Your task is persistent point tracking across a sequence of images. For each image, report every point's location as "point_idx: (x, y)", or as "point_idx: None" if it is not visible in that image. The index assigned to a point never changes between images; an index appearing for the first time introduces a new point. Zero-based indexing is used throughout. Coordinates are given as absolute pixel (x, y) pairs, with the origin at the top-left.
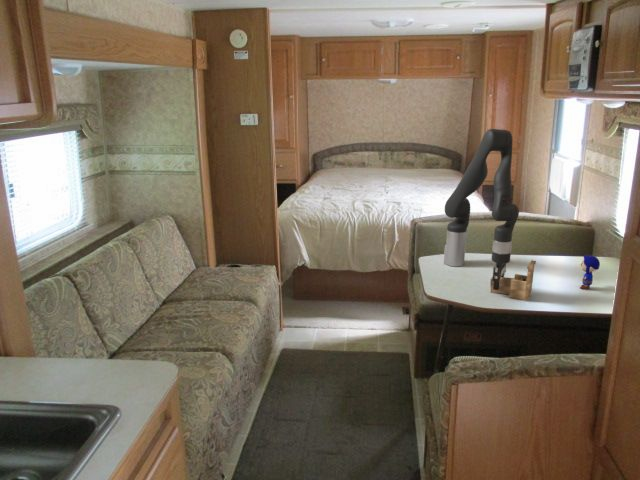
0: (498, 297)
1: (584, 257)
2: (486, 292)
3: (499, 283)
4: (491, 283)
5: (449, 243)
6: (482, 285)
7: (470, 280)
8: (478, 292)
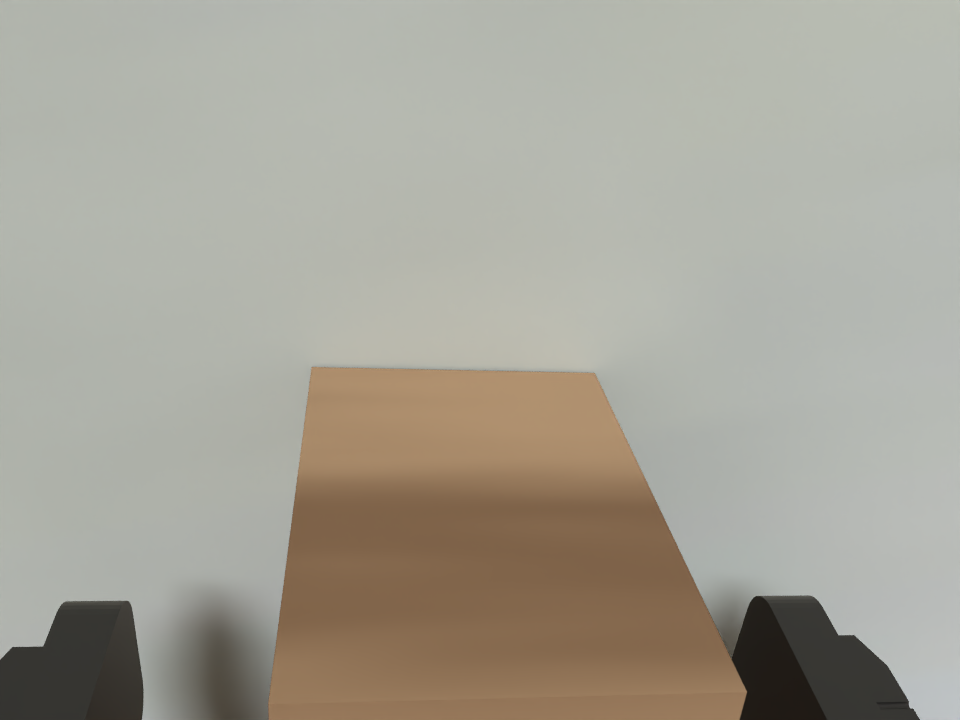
0: (47, 596)
1: None
2: (233, 267)
3: None
4: (290, 581)
5: None
6: (853, 14)
7: None
8: (61, 15)
